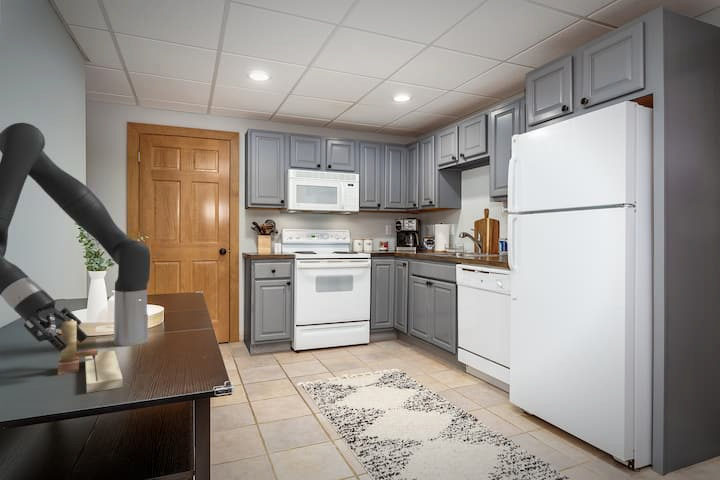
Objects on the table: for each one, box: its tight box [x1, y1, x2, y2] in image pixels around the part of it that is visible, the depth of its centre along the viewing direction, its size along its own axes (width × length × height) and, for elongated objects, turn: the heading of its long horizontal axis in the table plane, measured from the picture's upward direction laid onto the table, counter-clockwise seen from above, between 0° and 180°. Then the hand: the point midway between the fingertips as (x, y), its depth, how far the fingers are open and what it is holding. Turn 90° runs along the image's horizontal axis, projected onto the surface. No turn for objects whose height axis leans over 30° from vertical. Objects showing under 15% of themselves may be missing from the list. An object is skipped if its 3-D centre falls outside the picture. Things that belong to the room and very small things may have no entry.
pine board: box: [84, 350, 124, 394], centre depth 106 cm, size 7×26×2 cm, turn 34°
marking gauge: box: [57, 320, 99, 376], centre depth 109 cm, size 8×6×12 cm
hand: (74, 343), depth 108 cm, fingers open, 8 cm apart
